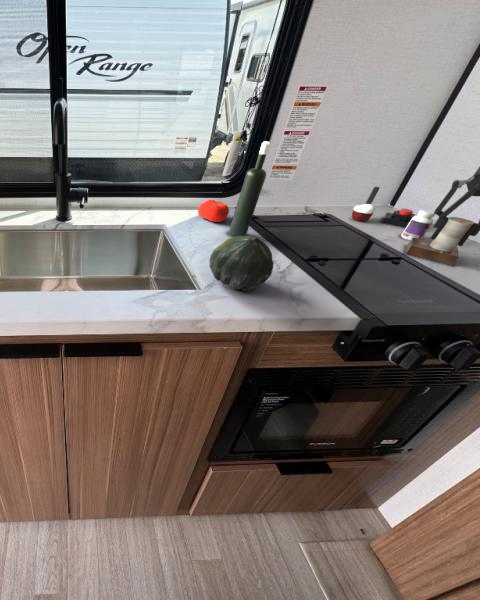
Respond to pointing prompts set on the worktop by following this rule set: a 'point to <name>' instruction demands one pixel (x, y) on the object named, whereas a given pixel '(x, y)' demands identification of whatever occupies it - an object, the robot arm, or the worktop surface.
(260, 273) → the squash
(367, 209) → the cocoa
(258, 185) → the wine bottle
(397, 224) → the button box
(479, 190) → the robot arm
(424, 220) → the pill bottle
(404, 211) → the button
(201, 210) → the tomato
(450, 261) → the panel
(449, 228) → the beige waisted cup
